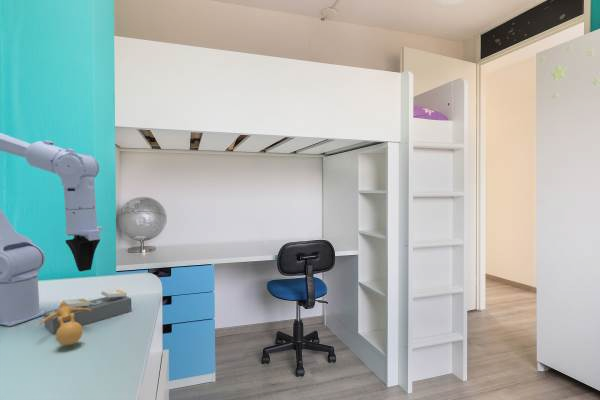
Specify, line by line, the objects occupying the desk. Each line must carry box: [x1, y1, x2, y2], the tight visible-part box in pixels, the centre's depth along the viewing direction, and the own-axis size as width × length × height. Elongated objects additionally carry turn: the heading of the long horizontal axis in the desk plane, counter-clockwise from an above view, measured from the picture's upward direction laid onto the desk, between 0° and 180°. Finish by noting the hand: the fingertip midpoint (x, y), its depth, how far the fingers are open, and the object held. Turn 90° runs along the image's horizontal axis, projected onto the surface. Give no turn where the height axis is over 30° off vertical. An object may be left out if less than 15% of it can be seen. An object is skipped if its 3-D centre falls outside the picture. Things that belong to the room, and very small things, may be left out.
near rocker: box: [62, 298, 90, 308], centre depth 72 cm, size 4×4×1 cm
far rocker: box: [101, 289, 127, 299], centre depth 78 cm, size 4×4×1 cm
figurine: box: [38, 301, 91, 346], centre depth 64 cm, size 8×6×12 cm
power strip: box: [43, 295, 133, 335], centre depth 74 cm, size 15×6×3 cm, turn 140°
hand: (84, 270), depth 75 cm, fingers closed
